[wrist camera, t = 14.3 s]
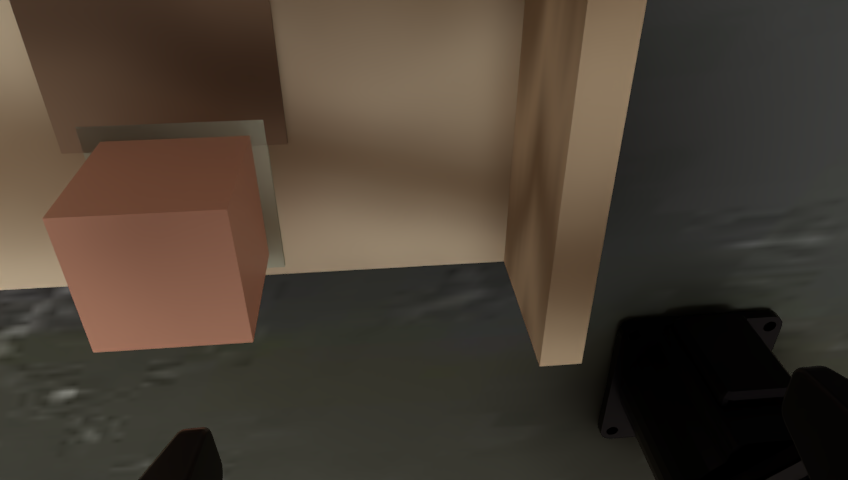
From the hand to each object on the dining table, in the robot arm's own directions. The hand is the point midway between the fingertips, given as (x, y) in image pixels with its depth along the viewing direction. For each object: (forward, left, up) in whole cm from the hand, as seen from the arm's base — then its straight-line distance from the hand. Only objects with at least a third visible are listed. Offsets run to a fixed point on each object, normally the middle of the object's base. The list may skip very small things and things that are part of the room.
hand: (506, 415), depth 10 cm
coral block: (-2, +7, -11) cm, 14 cm away
